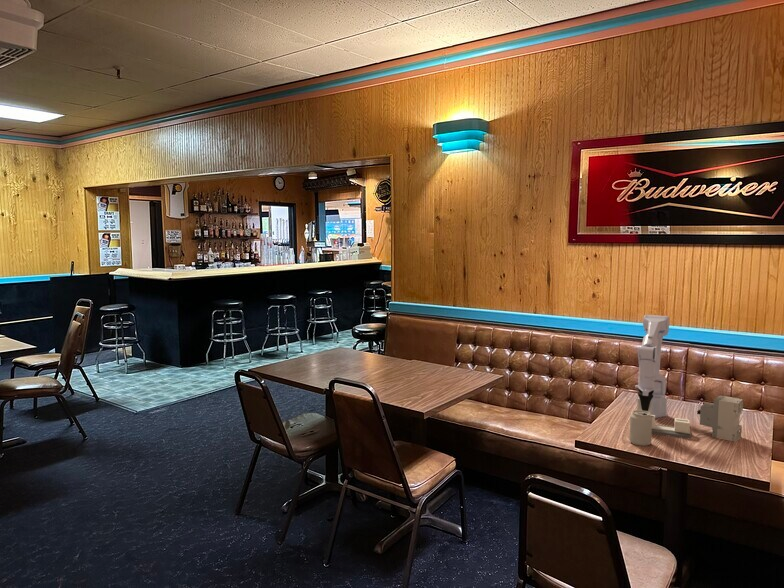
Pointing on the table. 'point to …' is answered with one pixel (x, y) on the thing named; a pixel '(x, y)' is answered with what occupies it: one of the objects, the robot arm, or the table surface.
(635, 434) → the can
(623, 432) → the table surface
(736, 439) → the circuit breaker
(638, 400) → the block
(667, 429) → the rail plate
